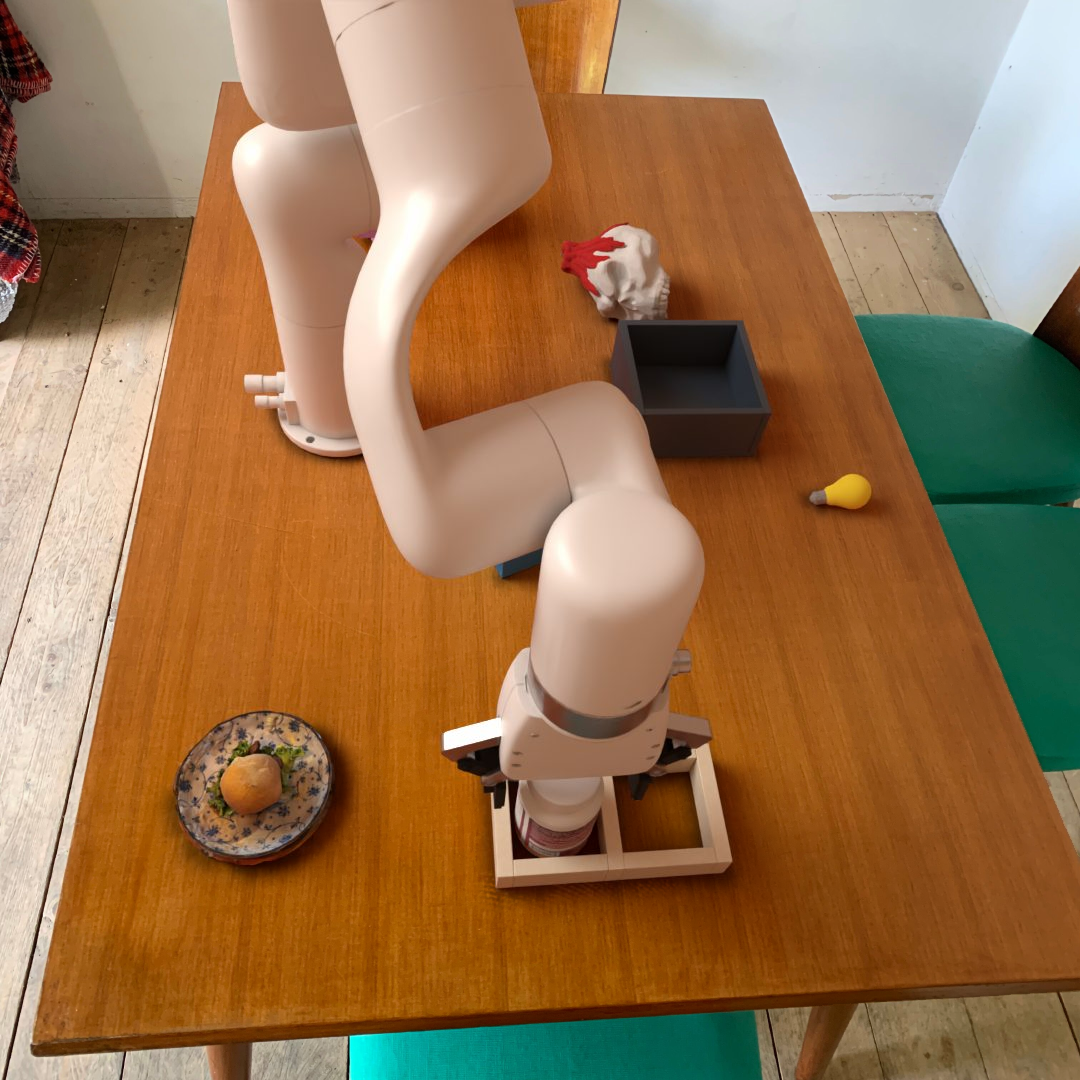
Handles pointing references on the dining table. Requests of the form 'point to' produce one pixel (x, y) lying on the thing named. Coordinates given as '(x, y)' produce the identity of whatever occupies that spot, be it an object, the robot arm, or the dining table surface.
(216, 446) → the dining table surface
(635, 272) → the candle
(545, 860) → the frame
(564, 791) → the pill bottle
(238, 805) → the burger
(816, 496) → the light bulb
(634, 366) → the dark grey open box
